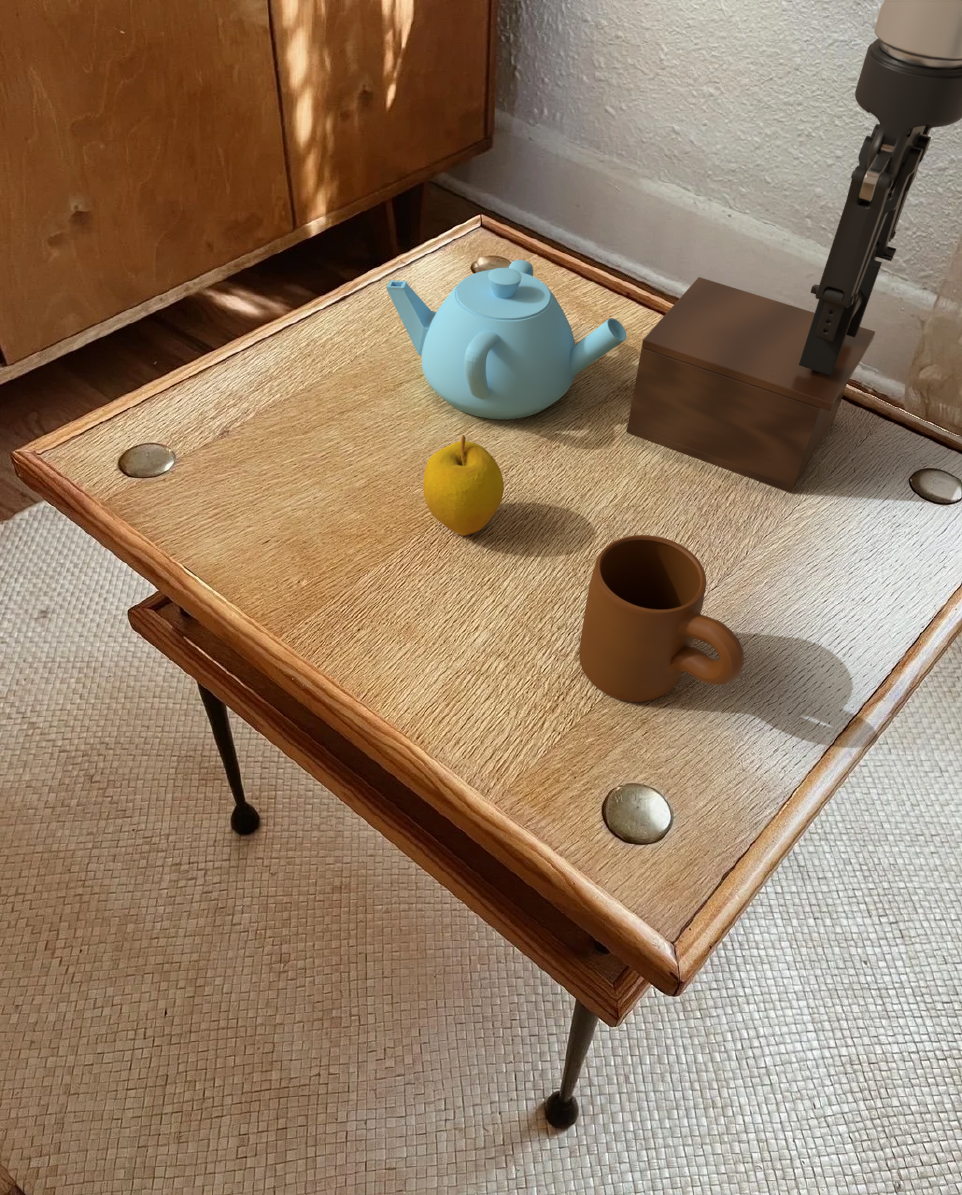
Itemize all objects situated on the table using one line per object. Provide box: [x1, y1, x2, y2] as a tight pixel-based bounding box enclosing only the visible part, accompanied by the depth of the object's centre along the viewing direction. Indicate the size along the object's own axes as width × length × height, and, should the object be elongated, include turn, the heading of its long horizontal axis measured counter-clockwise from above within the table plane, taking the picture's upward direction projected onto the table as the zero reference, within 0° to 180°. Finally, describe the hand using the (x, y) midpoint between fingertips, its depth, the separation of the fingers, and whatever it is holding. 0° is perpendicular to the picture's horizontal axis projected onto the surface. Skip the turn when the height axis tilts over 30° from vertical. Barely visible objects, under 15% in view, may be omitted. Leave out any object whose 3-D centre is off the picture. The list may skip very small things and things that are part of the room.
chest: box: [625, 347, 849, 494], centre depth 91 cm, size 16×13×9 cm
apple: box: [422, 434, 505, 536], centre depth 81 cm, size 6×6×8 cm
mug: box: [578, 534, 745, 703], centre depth 69 cm, size 12×8×9 cm, turn 41°
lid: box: [641, 276, 876, 411], centre depth 86 cm, size 16×13×6 cm
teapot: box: [386, 259, 628, 420], centre depth 93 cm, size 15×17×11 cm
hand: (828, 348), depth 85 cm, fingers closed on lid, 6 cm apart
